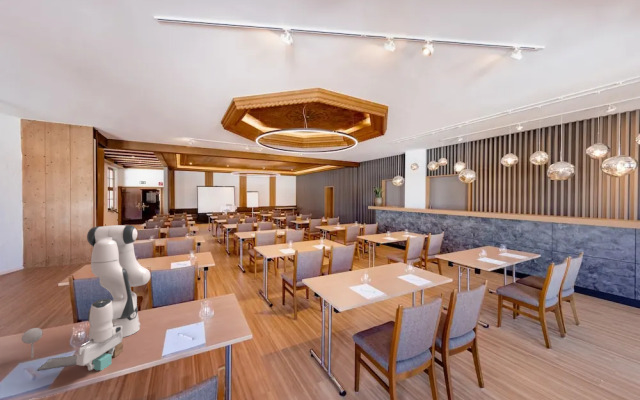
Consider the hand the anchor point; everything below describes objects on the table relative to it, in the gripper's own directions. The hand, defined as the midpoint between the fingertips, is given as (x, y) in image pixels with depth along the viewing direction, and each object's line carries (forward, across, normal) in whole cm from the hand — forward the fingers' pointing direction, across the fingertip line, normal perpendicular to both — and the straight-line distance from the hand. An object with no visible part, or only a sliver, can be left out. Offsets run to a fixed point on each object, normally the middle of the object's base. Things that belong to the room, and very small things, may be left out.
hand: (100, 362), depth 121 cm
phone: (+3, +2, +22) cm, 22 cm away
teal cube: (+2, +1, 0) cm, 2 cm away
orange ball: (+2, +3, +9) cm, 9 cm away
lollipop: (+2, +3, +42) cm, 42 cm away
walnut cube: (+2, +10, +3) cm, 11 cm away
